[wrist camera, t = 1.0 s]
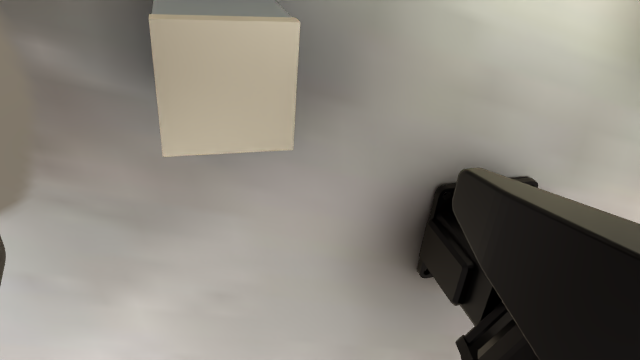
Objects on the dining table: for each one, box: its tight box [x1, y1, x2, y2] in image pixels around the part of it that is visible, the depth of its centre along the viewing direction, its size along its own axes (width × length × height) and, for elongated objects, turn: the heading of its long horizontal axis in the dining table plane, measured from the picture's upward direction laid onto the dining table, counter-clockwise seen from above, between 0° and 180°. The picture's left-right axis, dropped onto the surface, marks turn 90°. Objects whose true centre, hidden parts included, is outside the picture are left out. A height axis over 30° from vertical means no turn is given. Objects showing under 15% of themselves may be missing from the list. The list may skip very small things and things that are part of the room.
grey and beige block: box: [149, 0, 300, 157], centre depth 16 cm, size 4×4×6 cm
